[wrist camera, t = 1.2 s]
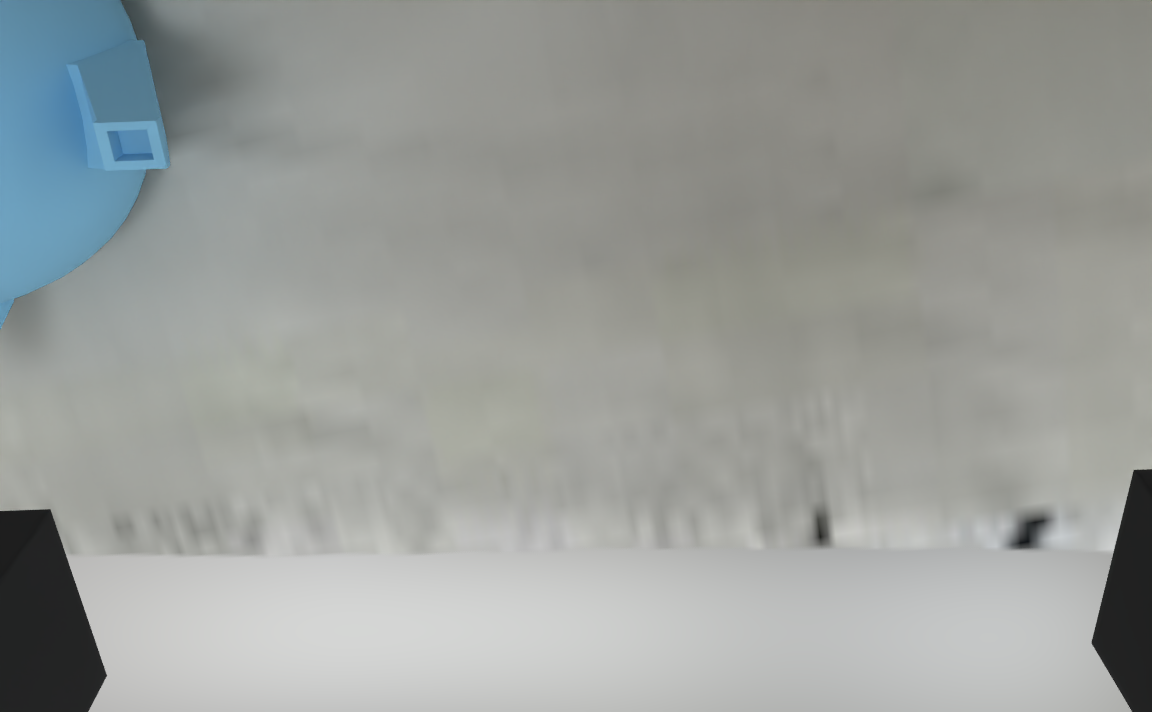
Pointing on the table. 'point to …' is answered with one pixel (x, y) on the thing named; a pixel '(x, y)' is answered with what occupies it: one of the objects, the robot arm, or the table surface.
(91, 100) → the teapot
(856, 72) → the table surface
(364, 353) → the table surface
